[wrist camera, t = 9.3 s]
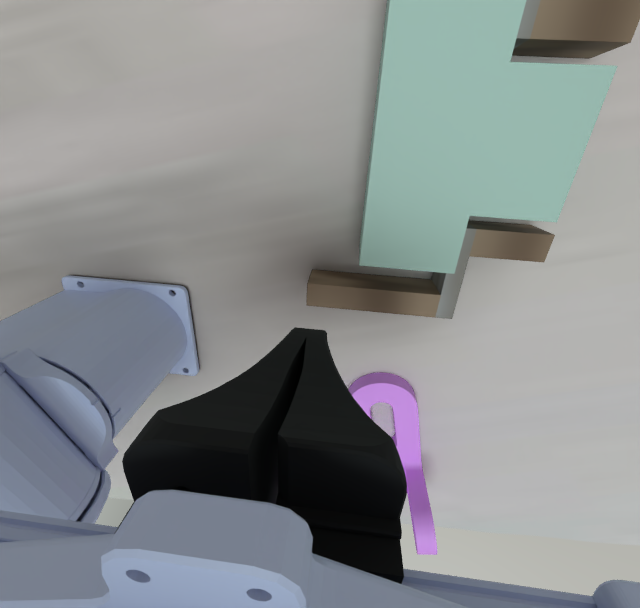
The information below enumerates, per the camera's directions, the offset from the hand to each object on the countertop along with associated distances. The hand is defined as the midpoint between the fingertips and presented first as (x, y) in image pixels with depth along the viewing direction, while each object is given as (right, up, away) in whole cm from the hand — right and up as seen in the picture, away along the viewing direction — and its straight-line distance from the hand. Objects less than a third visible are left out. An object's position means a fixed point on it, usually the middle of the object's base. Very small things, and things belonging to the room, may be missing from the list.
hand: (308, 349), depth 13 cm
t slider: (+8, +11, +5) cm, 14 cm away
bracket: (+6, -9, +15) cm, 19 cm away
